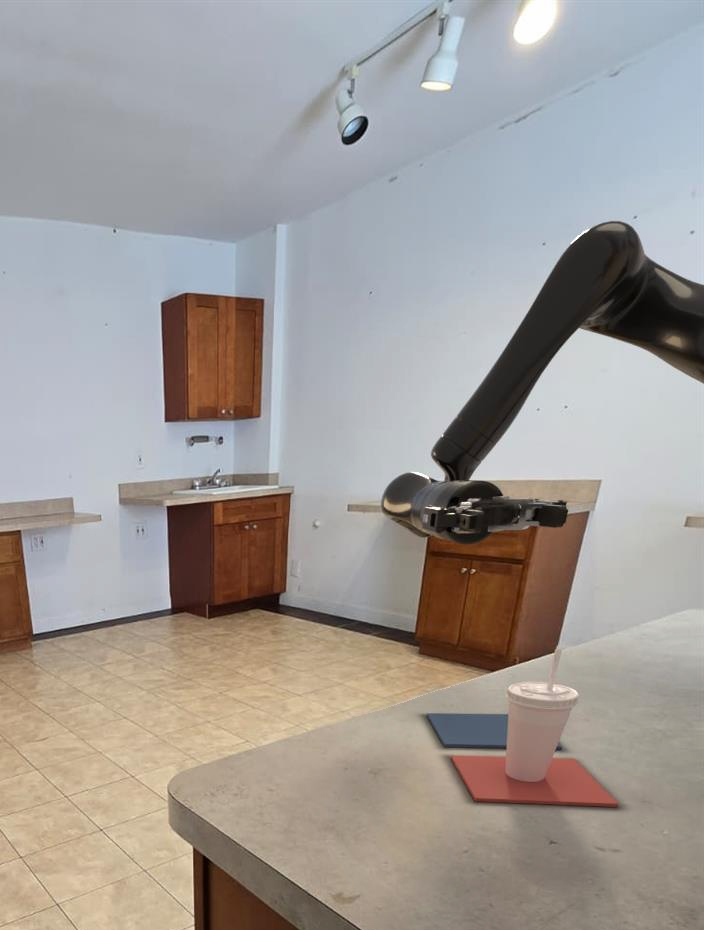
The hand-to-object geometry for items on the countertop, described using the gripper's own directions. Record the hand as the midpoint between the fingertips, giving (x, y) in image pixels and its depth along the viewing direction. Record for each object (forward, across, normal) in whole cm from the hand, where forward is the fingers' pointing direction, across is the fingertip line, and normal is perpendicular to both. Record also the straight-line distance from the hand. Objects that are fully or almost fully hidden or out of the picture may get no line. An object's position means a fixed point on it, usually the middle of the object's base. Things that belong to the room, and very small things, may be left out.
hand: (520, 519), depth 69 cm
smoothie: (+11, 0, +26) cm, 28 cm away
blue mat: (-3, +2, +26) cm, 26 cm away
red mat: (+12, 0, +26) cm, 28 cm away
